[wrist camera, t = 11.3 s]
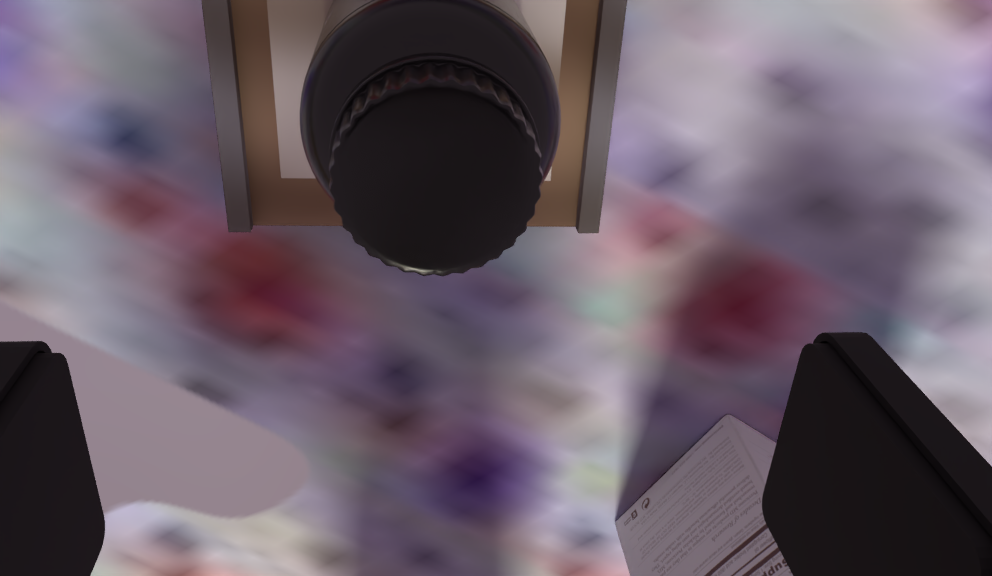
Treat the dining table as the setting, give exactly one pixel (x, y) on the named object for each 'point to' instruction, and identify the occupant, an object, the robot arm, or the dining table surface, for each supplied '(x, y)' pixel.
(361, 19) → the supplement bottle
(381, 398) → the dining table surface
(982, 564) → the robot arm
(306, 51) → the dock
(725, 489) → the supplement box
